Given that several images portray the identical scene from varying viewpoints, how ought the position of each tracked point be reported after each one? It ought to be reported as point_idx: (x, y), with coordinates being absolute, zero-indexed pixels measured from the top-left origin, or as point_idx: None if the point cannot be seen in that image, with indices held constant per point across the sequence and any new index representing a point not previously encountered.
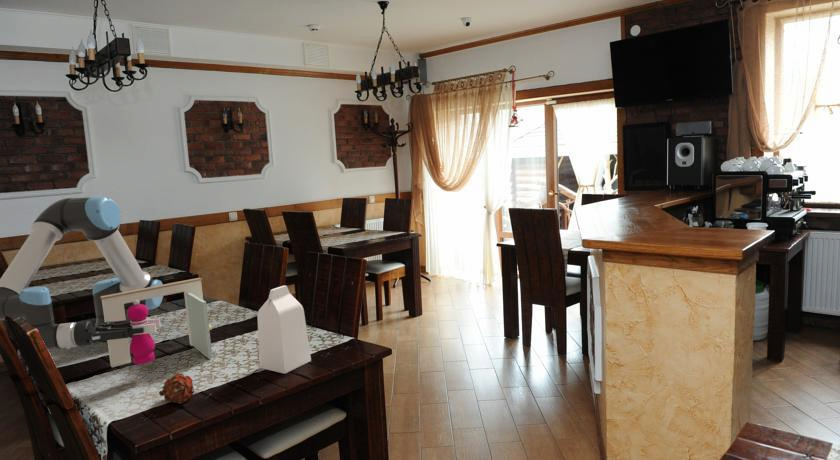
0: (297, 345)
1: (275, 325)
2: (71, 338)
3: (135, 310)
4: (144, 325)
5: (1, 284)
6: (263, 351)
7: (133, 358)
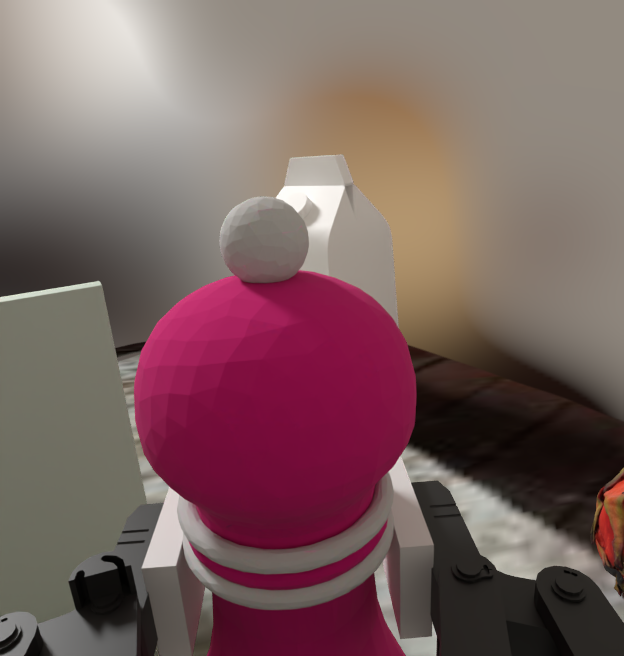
0: None
1: (380, 262)
2: None
3: (392, 320)
4: (400, 458)
5: None
6: None
7: None
